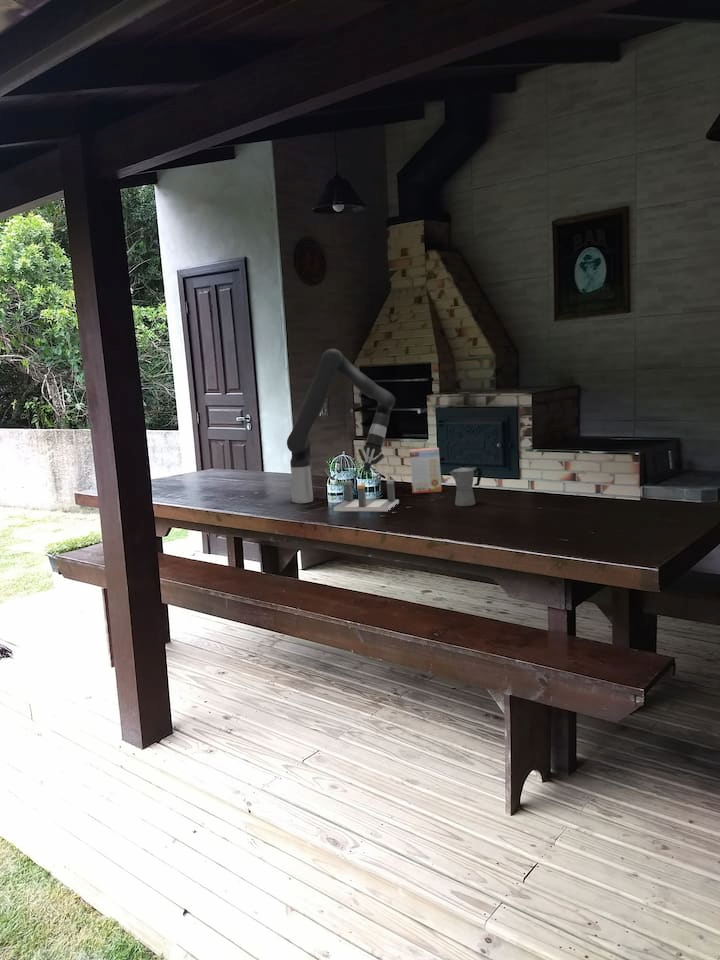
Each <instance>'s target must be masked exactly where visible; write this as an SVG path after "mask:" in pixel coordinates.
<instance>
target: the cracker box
mask: <svg viewBox="0 0 720 960" xmlns="http://www.w3.org/2000/svg"><path fill="white" fill-rule="evenodd" d="M440 458H441V457H440V448H439V447H426V448H415V449H414V448H413V449H412V448H411V449H409V460H410V462H409V464H410V476H411V489H412V494H413V493H414V494H425V493H426V494H427V493H442V492H443V491H442V490H443V489H442V478H441V477H442V476H441V475H442V473H441V461H440Z"/></svg>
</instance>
